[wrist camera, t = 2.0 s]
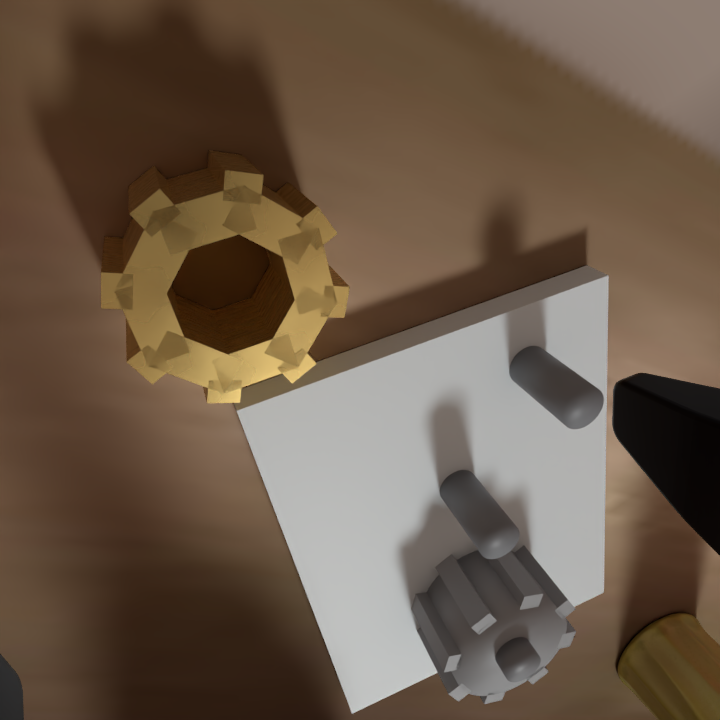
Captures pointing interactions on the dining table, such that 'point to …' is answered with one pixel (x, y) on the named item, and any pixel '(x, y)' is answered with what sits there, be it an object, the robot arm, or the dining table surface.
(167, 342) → the gear
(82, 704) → the dining table surface
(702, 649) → the vase
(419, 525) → the gear board
